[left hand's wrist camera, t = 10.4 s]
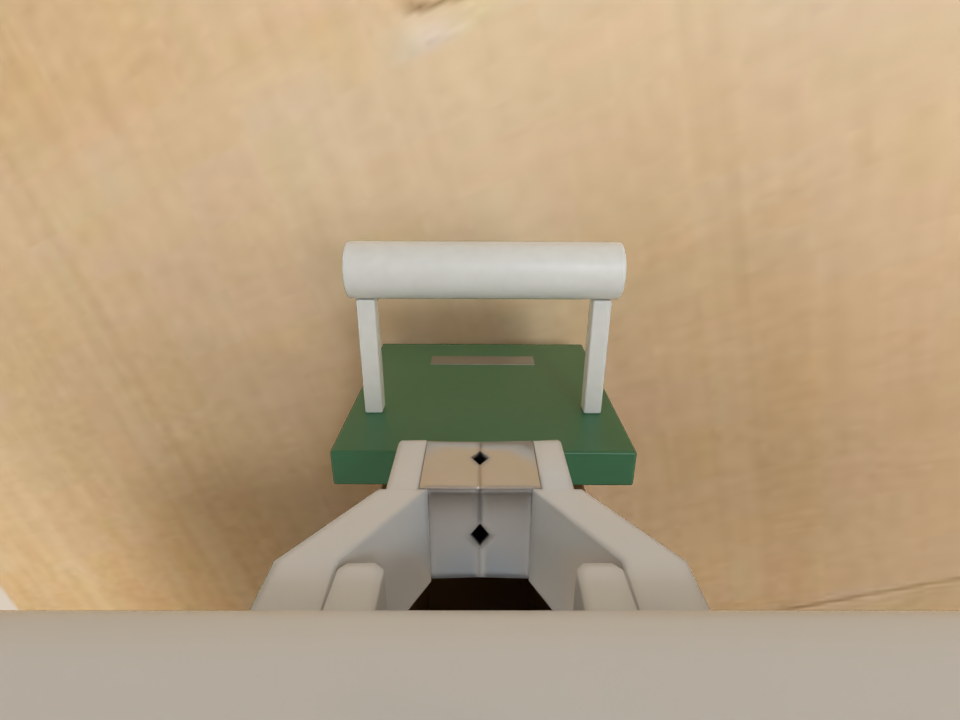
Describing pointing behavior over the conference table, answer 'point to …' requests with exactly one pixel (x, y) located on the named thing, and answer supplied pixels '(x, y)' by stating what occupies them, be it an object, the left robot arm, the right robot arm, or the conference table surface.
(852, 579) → the conference table surface
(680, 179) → the conference table surface
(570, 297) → the drawer
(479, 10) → the conference table surface
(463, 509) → the left robot arm
